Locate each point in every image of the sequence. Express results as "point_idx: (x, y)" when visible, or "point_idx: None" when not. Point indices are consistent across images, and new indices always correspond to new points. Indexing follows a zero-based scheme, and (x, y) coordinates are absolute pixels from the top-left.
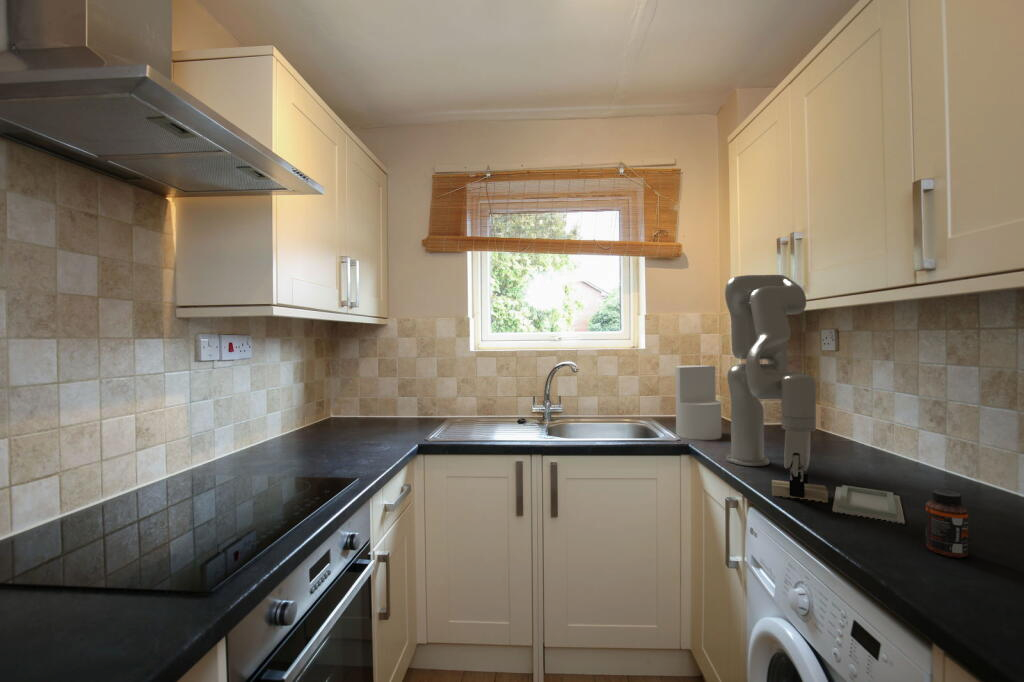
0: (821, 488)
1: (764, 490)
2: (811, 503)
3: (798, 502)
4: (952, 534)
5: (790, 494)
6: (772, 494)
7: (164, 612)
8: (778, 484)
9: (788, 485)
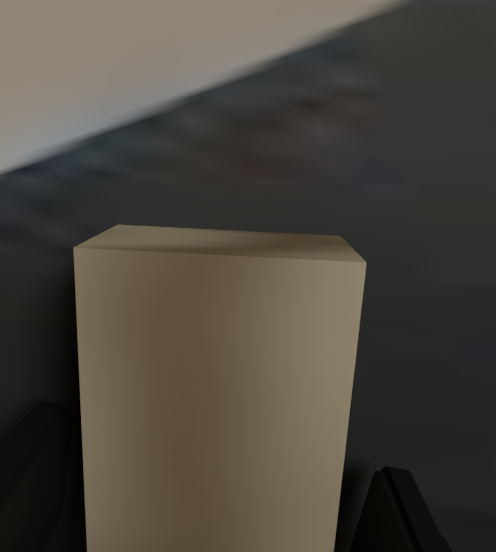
0: None
1: (277, 152)
2: None
3: None
4: None
5: (35, 411)
6: (114, 229)
7: None
8: (152, 331)
9: (161, 442)
